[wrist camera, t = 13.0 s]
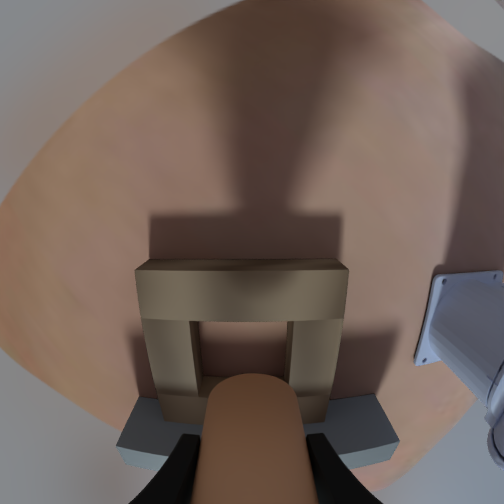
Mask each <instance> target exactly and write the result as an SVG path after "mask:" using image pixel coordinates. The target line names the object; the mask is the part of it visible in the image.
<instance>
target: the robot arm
mask: <svg viewBox="0 0 504 504" xmlns="http://www.w3.org/2000/svg"><path fill="white" fill-rule="evenodd" d="M443 279H444V281H443ZM502 279H503V272H502V271H500V270H495V271H482V272H469V273H454V274H438V275H436V276H435V277H434V279H433V282H432V288H431V293H430V298H429V303H428V308H427V312H426V317H425V321H424V325H423V329H422V333H421V337H420V341H419V344H418V348H417V351H416V355H415V358H414V364H415V365H416V366H420V365H425V364H429V363H433V362H437V361H441V360H442V361H443V362H444V363H445V364H446V365H447V366H448V367H449V368H450V369H451V370H452V371H453V372H454V373H455V374H456V376H457V377H458V378H459V379H460V380H461V381H462V382H463V383H464V384H465V385H466V386H467V387H468V388H469V389H470V390H471V391H472V392H473V394H474V395H475V396H476V397H477V398H478V399H479V400H480V401H481V402H482V403H483V404H484V405H485V407H486V408H487V409H488V411H487V414H486V416H485V420H486V422H487V423H488V424H489V425H490V426H491V429H490V430H489V433H488V439H487V444H488V450H489V453H490V456H491V457H492V459H493V461H494V462H495V464H496V465H497V466H498V467H499V468H500V469H502V470H503V471H504V283H502ZM442 281H443V283H442ZM423 359H424V360H423ZM200 442H201V440H200V435H195V434H185V433H184V434H182V435H181V437H180V438H179V440H178V442H177V444H176V446H175V447H174V449H173V451H172V452H171V454H170V455H169V457H168V458H167V460H166V461H165V463H164V464H163V465H162V467H161V468H160V470H159V471H158V472H157V474H156V475H155V476H154V478H153V479H152V480H151V481H150V482H149V483H148V484H147V486H146V487H145V488H144V489H143V490H142V491H141V492H140V493H139V494H138V495H137V496H136V497H135V498H134V499H133V500H132V501H131V502H130V503H129V504H190V501H191V495H192V489H193V483H194V477H195V471H196V465H197V459H198V453H199V447H200ZM306 442H307V447H308V452H309V456H310V461H311V466H312V471H313V476H314V481H315V486H316V491H317V495H318V500H319V504H383V503H382V502H381V501H379V500H378V499H377V498H376V497H375V496H374V495H372V494H371V493H370V492H369V491H368V490H367V489H366V488H365V487H364V486H363V485H362V484H361V483H360V482H359V481H358V479H357V478H356V477H355V476H354V475H353V474H352V472H351V471H350V470H349V469H348V467H347V466H346V465H345V464H344V462H343V461H342V460H341V458H340V457H339V456H338V454H337V453H336V451H335V450H334V448H333V447H332V445H331V444H330V442H329V441H328V439H327V437H326V435H325V434H324V433H315V434H307V437H306Z"/></svg>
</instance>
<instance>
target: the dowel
mask: <svg viewBox="0 0 504 504" xmlns="http://www.w3.org/2000/svg"><path fill="white" fill-rule="evenodd" d="M190 504H319V500H318V495H317V491H316V486H315V481H314V476H313V471H312V466H311V461H310V456H309V452H308V447H307V442H306V437H305V433H304V428H303V423H302V418H301V414H300V409H299V405H298V400H297V396H296V393H295V392H294V390H293V389H292V388H291V386H290V385H288V384H287V383H286V382H284V381H283V380H281V379H279V378H277V377H274V376H271V375H266V374H259V373H248V374H240V375H236V376H232V377H230V378H227V379H225V380H223V381H222V382H220V383H219V384H217V385H216V386H215V387H214V388H213V390H212V391H211V393H210V395H209V398H208V402H207V408H206V413H205V419H204V424H203V430H202V436H201V442H200V447H199V453H198V459H197V465H196V471H195V477H194V483H193V489H192V495H191V501H190Z"/></svg>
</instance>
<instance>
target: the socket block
mask: <svg viewBox="0 0 504 504" xmlns="http://www.w3.org/2000/svg"><path fill="white" fill-rule="evenodd" d="M348 275H349V269H348V268H347V267H345V266H344V265H343V264H342V263H341V262H339V261H338V260H337V259H235V260H160V259H149V260H148V261H146V262H145V263H144V264H142V265H141V266H139V267H138V268H137V269H135V279H136V287H137V294H138V301H139V308H140V315H141V321H142V327H143V332H144V338H145V343H146V348H147V353H148V358H149V362H150V367H151V371H152V376H153V380H154V384H155V388H156V392H157V396H158V400H159V404H160V407H161V411H162V414H163V418H164V421H168V422H176V423H186V424H197V425H203V424H204V419H205V413H206V408H207V402H208V398H209V395H210V393H211V391H212V390H213V388H214V387H215V386H216V385H217V384H219V383H220V382H222V381H223V380H225V379H227V378H230V377H212V376H203V368H202V359H201V349H200V339H199V329H198V321H217V322H272V321H288V322H287V340H286V356H285V370H284V376H282V377H277V378H279V379H281V380H283V381H284V382H286V383H287V384H288V385H290V386H291V388H292V389H293V390H294V392H295V393H296V396H297V400H298V405H299V409H300V414H301V418H302V423H303V424H311V423H320V422H325V417H326V413H327V409H328V404H329V400H330V395H331V390H332V385H333V380H334V375H335V370H336V364H337V359H338V353H339V347H340V340H341V334H342V327H343V319H344V312H345V304H346V295H347V286H348Z"/></svg>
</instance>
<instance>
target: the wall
mask: <svg viewBox="0 0 504 504" xmlns="http://www.w3.org/2000/svg"><path fill="white" fill-rule="evenodd" d="M303 428H304V433H305V437H307V434H315V433H324V434H325V435H326V437H327V439H328V441H329V442H330V444H331V445H332V447H333V448H334V450H335V451H336V453H337V454H338V456H339V457H340V458H341V460H342V461H343V462H344V464H345V465H346V466H347V467H348V469H354V468H358V467H363V466H367V465H371V464H375V463H379V462H383V461H387V460H390V458H391V456H392V455H393V453H394V451H395V449H396V448H397V446H398V444H399V442H400V440H399V438H398V436H397V435H396V433H395V431H394V429H393V427H392V425H391V423H390V421H389V420H388V418H387V416H386V414H385V412H384V410H383V409H382V407H381V405H380V403H379V401H378V400H377V398H376V396H375V394H370V395H364V396H357V397H351V398H344V399H336V400H329V404H328V409H327V413H326V417H325V422H320V423H311V424H303ZM202 430H203V425H197V424H186V423H176V422H168V421H164V418H163V414H162V411H161V407H160V404H159V400H158V399H152V398H145V397H139V398H138V400H137V402H136V404H135V406H134V408H133V410H132V412H131V414H130V417H129V419H128V421H127V423H126V425H125V427H124V429H123V431H122V433H121V436H120V438H119V440H118V442H117V444H116V448H117V449H118V451H119V453H120V455H121V457H122V458H123V460H124V462H125V463H126V464H127V465H132V466H135V467H140V468H145V469H150V470H155V471H159V470H160V468H161V467H162V465H163V464H164V463H165V461H166V460H167V458H168V457H169V455H170V454H171V452H172V451H173V449H174V447H175V446H176V444H177V442H178V440H179V438H180V437H181V435H182V434H184V433H185V434H195V435H200V440H201V436H202Z"/></svg>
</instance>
